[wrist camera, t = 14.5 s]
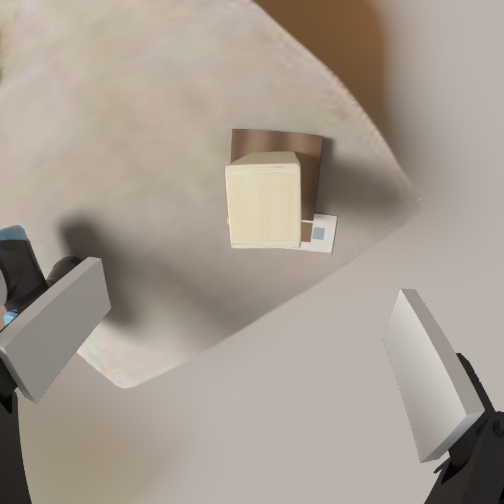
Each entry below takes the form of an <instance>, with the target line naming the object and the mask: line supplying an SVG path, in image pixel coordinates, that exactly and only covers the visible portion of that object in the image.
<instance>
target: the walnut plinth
mask: <svg viewBox="0 0 504 504" xmlns="http://www.w3.org/2000/svg"><path fill="white" fill-rule="evenodd" d="M321 147H322V136H318V135H309V134H300V133H290V132H278V131H265V130H247V129H232V147H231V163H232V162H234V161H236V160H238V159H240V158H242V157H244V156H246V155H248V154H250V153H253V152H279V151H294V152H295V154H296V156H297V158H298V160H299V162H300V165H301V220H307V221H313V220H314V212H315V204H316V196H317V187H318V178H319V168H320V158H321Z"/></svg>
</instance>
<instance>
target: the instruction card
mask: <svg viewBox="0 0 504 504" xmlns="http://www.w3.org/2000/svg"><path fill="white" fill-rule="evenodd" d="M336 222H337V216H333V215H324V214H314V220H313V221H307V220H301V247H299V248H285V249H295V250H306V251H316V252H327V253H331V252H332V246H333V240H334V234H335V228H336Z"/></svg>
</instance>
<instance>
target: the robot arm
mask: <svg viewBox="0 0 504 504" xmlns="http://www.w3.org/2000/svg"><path fill="white" fill-rule="evenodd" d="M3 305H4V306H5V308H6V310H7V312H6V314H5V316H4V322H5V327H4V328H3V329H2V330H1V331H0V504H32V503H31V499H30V495H29V490H28V486H27V481H26V476H25V471H24V465H23V459H22V452H21V444H20V435H19V423H18V422H19V421H18V398H17V394H16V392H15V391H14V390H15V389H16V388H17V386H18V388H19V389H20V391H21V392H22V394H23V395H24V396H25V397H26V398H28V399H30V400H31V401H33V402H34V403H36V404H37V403H38V402H39V401H40V399H41V398H42V396H43V395H44V394H45V392H46V391H47V389H48V388H49V387H50V385H51V384H52V382H53V381H54V380H55V378H56V377H57V376H58V374H59V373H60V372H61V370H62V369H63V368H64V366H65V365H66V364H67V363H68V361H69V360H70V358H71V357H72V356H73V355H74V354H75V352H76V351H77V350H78V348H79V347H80V346H81V345H82V343H83V342H84V341H85V340H86V338H87V337H88V336H89V335H90V334H91V332H92V331H93V330H94V329H95V327H96V326H97V325H98V324H99V323H100V321H101V320H102V319H103V318H104V317H105V315H106V314H107V313H108V312H109V311H110V309H111V305H110V300H109V296H108V291H107V286H106V281H105V276H104V271H103V265H102V260H101V258H95V257H88V258H87V259H85V260H84V261H83V262H82V261H81V260H79V259H77V258H74V257H64V258H63V259H61V260H60V261H58V262H57V263H56V264H55V265H54V267H53V269H52V271H51V273H50V274H49V276H48V278H47V279H46V280H45V278H44V276H43V273H42V271H41V269H40V266H39V264H38V262H37V259H36V257H35V254H34V252H33V249H32V247H31V244H30V240H29V239H28V238H27V235H26V233H25V230H24V229H23V228H22V227H21V226H18V225H16V226H11V227H7V228H4V229H2V230H0V306H3ZM382 340H383V343H384V345H385V348H386V351H387V354H388V356H389V359H390V362H391V365H392V367H393V371H394V373H395V377H396V380H397V382H398V386H399V389H400V392H401V395H402V398H403V401H404V404H405V408H406V411H407V415H408V418H409V421H410V425H411V429H412V432H413V436H414V439H415V443H416V447H417V451H418V455H419V459H420V463H424V462H428V461H432V460H436V459H439V458H440V457H441V456H442V455H443V454H444V453H445V452H446V451H449V455H450V457H449V458H448V459H447V460H446V461H445V462H444V463H442V464H441V465H440V466H439V467H438V468H437V469H436V470H435V471H434V473H437V472H438V471H440V470H441V469H442V470H441V472H440V474H439V477H438V479H437V481H436V483H435V485H434V487H433V488H432V490H431V492H430V494H429V496H428V498H427V500H426V501H425V503H424V504H504V412H500V411H498V412H496V411H495V410H494V408H493V406H492V404H491V402H490V400H489V398H488V396H487V394H486V392H485V390H484V388H483V386H482V384H481V382H479V378H478V377H477V375H476V374H475V372H474V370H473V368H472V366H471V364H470V362H469V361H468V360H467V359H466V358H465V357H464V356H463V355H462V354H461V353H455V352H454V350H453V348H452V346H451V345H450V343H449V341H448V340H447V338H446V336H445V335H444V333H443V331H442V330H441V328H440V327H439V325H438V323H437V322H436V320H435V319H434V317H433V316H432V314H431V312H430V311H429V310H428V308H427V307H426V305H425V303H424V302H423V300H422V299H421V297H420V296H419V295H418V293H417V292H416V290H413V289H400V291H399V295H398V297H397V300H396V303H395V306H394V309H393V312H392V315H391V318H390V320H389V323H388V325H387V328H386V331H385V333H384V336H383V339H382Z"/></svg>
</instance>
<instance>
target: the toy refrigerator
mask: <svg viewBox="0 0 504 504" xmlns="http://www.w3.org/2000/svg"><path fill="white" fill-rule="evenodd" d="M226 186H227V200H228V214H229V215H228V217H227V224H228V225H229V226H230V239H231V246H232V248H299V247H301V165H300V162H299V160H298V158H297V156H296V154H295V152H294V151H279V152H253V153H250V154H248V155H246V156H244V157H242V158H240V159H238V160H236V161H234V162H232V163H230V164H228V165H227V166H226Z"/></svg>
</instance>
